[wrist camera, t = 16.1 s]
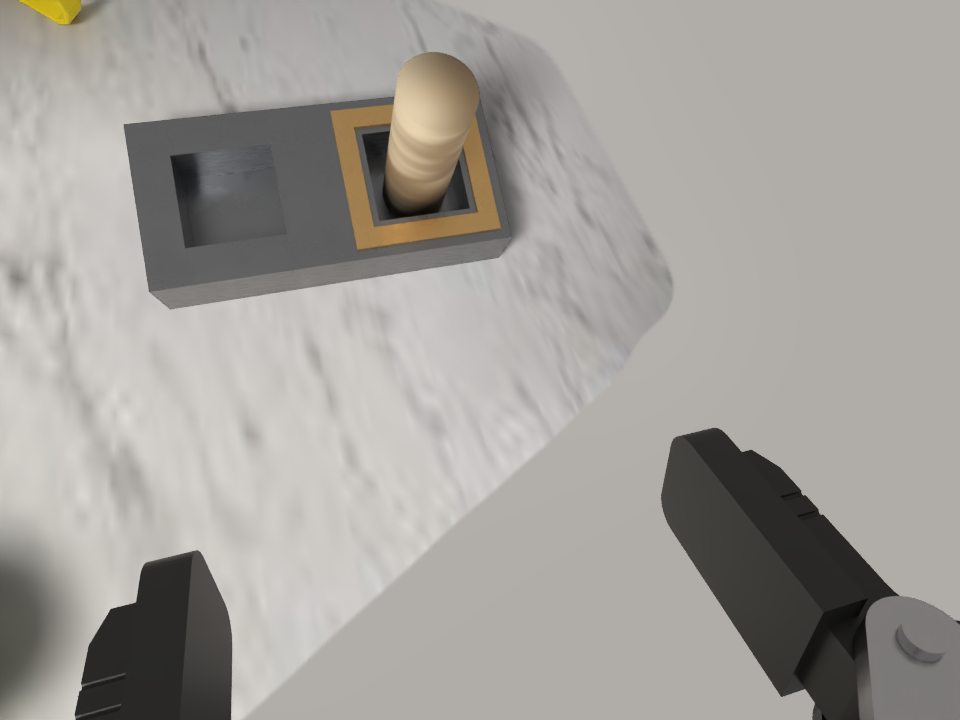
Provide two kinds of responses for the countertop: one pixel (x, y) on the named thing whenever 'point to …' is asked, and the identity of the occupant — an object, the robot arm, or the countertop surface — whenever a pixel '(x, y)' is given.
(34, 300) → the countertop surface
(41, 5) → the watch
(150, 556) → the countertop surface
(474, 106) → the peg
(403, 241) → the base plate
